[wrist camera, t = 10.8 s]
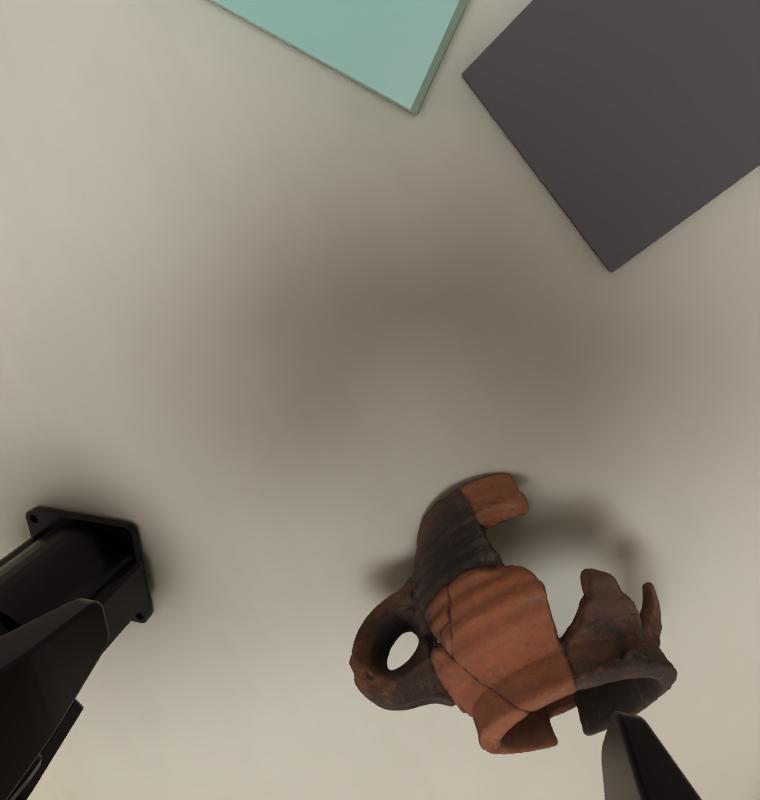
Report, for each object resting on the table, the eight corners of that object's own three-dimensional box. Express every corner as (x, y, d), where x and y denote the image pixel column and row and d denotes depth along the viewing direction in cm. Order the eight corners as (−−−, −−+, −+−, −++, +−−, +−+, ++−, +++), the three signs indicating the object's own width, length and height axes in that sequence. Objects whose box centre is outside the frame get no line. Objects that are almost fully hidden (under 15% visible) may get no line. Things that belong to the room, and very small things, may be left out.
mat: (609, 271, 17) (611, 272, 17) (462, 76, 16) (461, 74, 16) (868, 82, 14) (877, 79, 14) (707, -177, 13) (713, -188, 13)
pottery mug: (568, 424, 20) (712, 623, 14) (590, 537, 26) (696, 708, 20) (300, 540, 21) (325, 770, 15) (382, 622, 28) (423, 808, 21)
